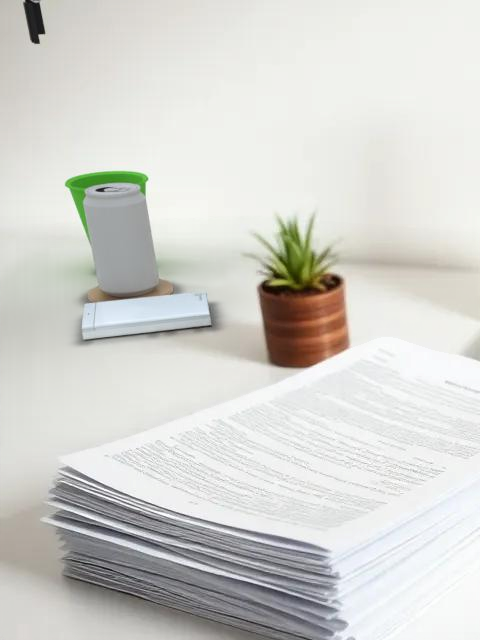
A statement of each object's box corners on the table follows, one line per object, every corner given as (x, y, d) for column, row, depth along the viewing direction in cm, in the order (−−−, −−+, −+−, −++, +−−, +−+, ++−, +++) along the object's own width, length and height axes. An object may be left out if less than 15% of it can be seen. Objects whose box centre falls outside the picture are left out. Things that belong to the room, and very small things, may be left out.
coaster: (76, 307, 126) (76, 304, 126) (102, 281, 134) (102, 278, 134) (161, 305, 127) (160, 302, 127) (182, 280, 135) (181, 276, 135)
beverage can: (116, 280, 133) (98, 180, 128) (170, 282, 133) (153, 181, 128) (89, 298, 127) (68, 193, 123) (145, 300, 127) (127, 195, 122)
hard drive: (206, 289, 127) (84, 301, 123) (209, 313, 121) (80, 326, 116) (208, 303, 128) (86, 315, 123) (212, 327, 121) (83, 341, 117)
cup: (74, 281, 134) (55, 189, 129) (91, 258, 142) (74, 171, 137) (155, 277, 136) (140, 187, 131) (167, 255, 144) (154, 169, 139)
